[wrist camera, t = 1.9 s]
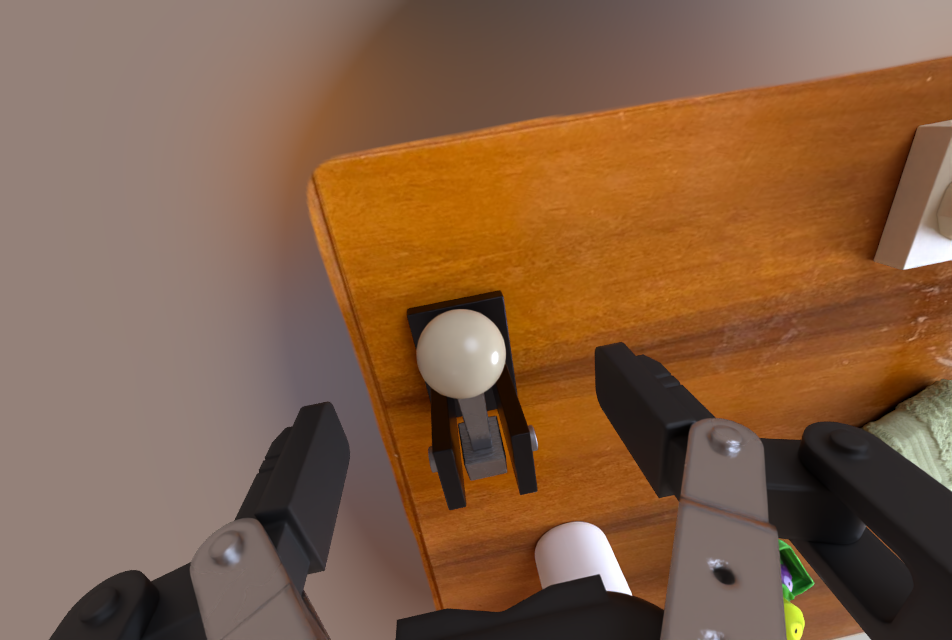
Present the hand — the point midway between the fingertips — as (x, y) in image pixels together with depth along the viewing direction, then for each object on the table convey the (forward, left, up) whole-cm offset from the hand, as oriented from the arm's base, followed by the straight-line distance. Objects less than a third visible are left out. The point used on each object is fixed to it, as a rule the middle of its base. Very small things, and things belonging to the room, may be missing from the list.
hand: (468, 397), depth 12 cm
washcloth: (+32, +45, -17) cm, 58 cm away
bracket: (+9, 0, -17) cm, 19 cm away
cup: (+38, +7, -17) cm, 42 cm away
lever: (+4, 0, -6) cm, 7 cm away
